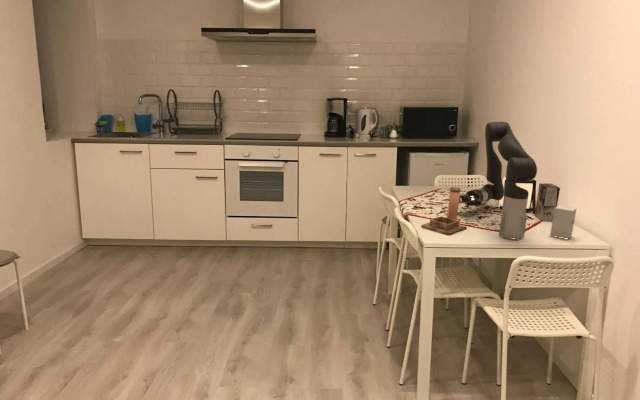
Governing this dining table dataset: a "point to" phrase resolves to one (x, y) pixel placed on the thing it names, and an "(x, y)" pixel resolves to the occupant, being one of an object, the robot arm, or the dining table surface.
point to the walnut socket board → (444, 225)
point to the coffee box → (546, 201)
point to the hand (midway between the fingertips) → (458, 202)
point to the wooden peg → (453, 203)
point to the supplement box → (563, 221)
